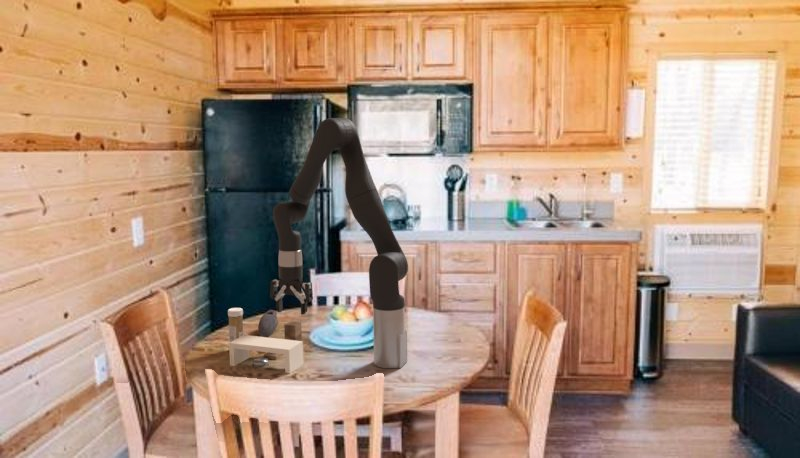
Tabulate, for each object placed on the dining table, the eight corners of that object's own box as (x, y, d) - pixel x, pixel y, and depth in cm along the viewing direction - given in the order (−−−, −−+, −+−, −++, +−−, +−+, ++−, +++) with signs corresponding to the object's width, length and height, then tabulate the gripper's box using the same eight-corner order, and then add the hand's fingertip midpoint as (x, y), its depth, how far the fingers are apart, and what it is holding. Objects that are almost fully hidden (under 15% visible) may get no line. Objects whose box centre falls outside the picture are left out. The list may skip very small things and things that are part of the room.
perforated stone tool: (268, 341, 208) (267, 320, 207) (252, 340, 208) (252, 320, 207) (281, 327, 223) (280, 308, 222) (266, 327, 223) (265, 308, 222)
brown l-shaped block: (302, 343, 206) (301, 322, 205) (276, 359, 190) (275, 337, 189) (290, 341, 207) (289, 321, 206) (263, 358, 192) (262, 335, 191)
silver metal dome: (271, 363, 187) (271, 358, 187) (263, 368, 183) (263, 363, 183) (258, 361, 189) (258, 357, 189) (250, 366, 185) (250, 362, 185)
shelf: (303, 364, 186) (302, 341, 185) (290, 373, 178) (289, 349, 178) (245, 356, 193) (244, 334, 192) (230, 365, 185) (228, 342, 184)
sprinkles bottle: (246, 350, 198) (244, 309, 196) (232, 353, 196) (230, 311, 194) (241, 347, 202) (239, 306, 200) (227, 349, 199) (225, 308, 198)
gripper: (315, 263, 202) (316, 312, 204) (277, 260, 206) (278, 307, 209) (304, 267, 195) (305, 318, 197) (264, 264, 199) (266, 313, 202)
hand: (291, 312), depth 203 cm, fingers open, 8 cm apart
